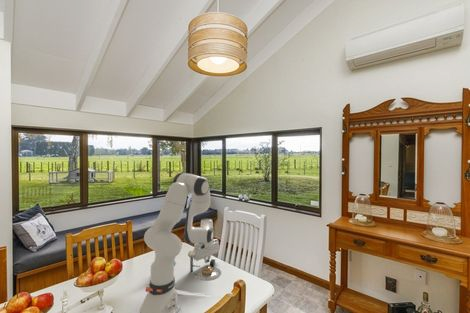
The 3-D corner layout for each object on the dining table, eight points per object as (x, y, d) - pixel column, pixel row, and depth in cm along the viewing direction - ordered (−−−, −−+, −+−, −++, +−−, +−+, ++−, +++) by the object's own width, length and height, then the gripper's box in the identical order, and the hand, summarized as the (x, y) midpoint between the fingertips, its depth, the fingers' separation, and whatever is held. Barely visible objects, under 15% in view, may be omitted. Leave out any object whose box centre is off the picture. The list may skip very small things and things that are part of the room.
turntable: (217, 283, 135) (217, 276, 135) (190, 280, 139) (190, 273, 139) (225, 266, 155) (225, 260, 155) (201, 263, 159) (201, 258, 159)
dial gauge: (187, 274, 146) (187, 251, 146) (189, 271, 150) (189, 249, 150) (199, 276, 144) (199, 253, 144) (201, 272, 148) (201, 250, 148)
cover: (210, 276, 141) (210, 270, 141) (199, 274, 144) (199, 268, 144) (214, 270, 148) (214, 265, 148) (204, 269, 150) (204, 263, 150)
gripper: (215, 236, 165) (215, 255, 166) (191, 245, 151) (191, 266, 151) (221, 239, 161) (221, 258, 161) (197, 248, 146) (197, 269, 147)
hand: (206, 262), depth 156 cm, fingers closed
